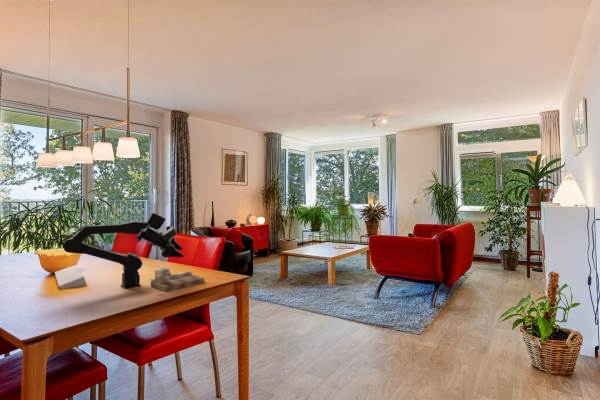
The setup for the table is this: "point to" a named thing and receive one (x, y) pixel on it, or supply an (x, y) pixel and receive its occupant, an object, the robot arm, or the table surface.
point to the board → (178, 281)
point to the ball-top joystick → (162, 275)
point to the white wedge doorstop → (70, 277)
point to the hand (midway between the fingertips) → (182, 252)
